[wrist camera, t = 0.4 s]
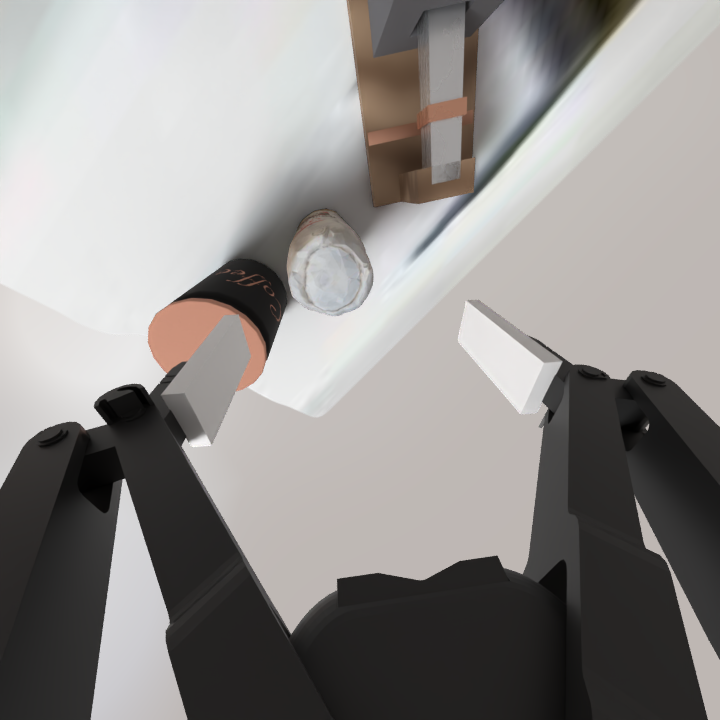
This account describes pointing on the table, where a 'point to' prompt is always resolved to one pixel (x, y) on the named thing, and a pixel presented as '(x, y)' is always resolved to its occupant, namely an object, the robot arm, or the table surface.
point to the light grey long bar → (441, 88)
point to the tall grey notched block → (400, 16)
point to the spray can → (328, 265)
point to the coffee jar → (210, 303)
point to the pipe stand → (404, 119)
